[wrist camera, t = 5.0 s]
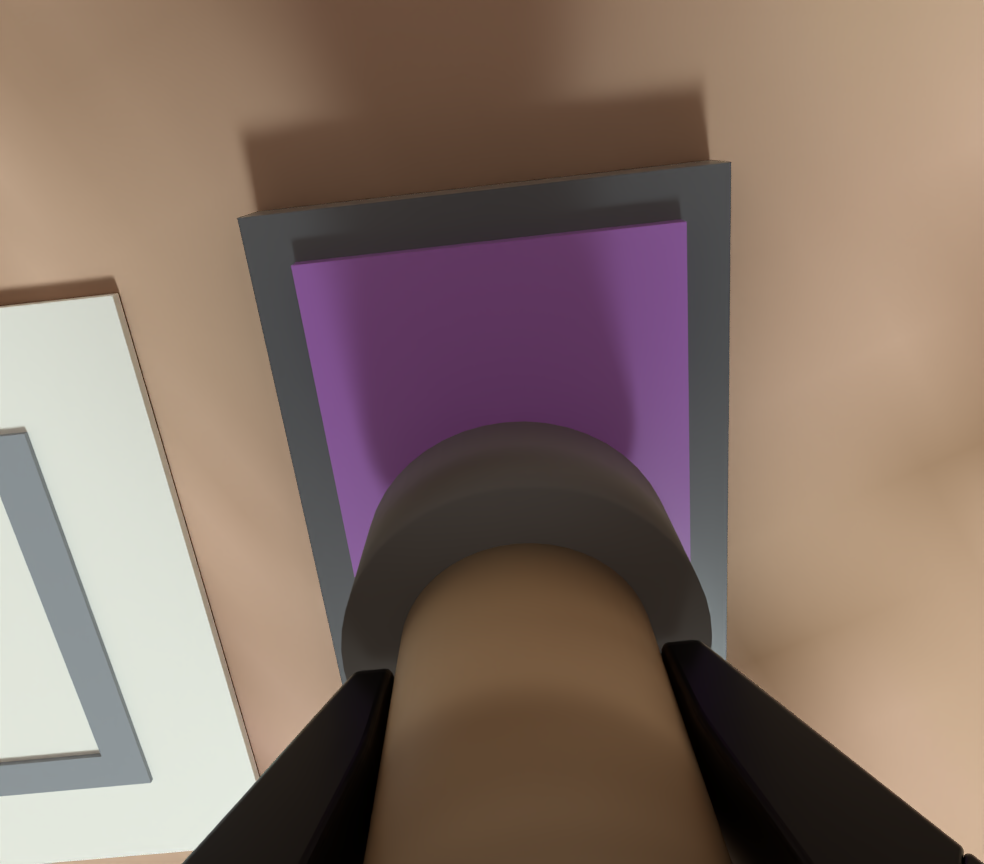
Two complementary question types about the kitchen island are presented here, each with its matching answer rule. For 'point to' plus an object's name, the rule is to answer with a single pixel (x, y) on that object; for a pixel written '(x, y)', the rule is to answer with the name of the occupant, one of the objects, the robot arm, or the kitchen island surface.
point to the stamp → (529, 658)
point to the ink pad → (503, 341)
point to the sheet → (101, 609)
